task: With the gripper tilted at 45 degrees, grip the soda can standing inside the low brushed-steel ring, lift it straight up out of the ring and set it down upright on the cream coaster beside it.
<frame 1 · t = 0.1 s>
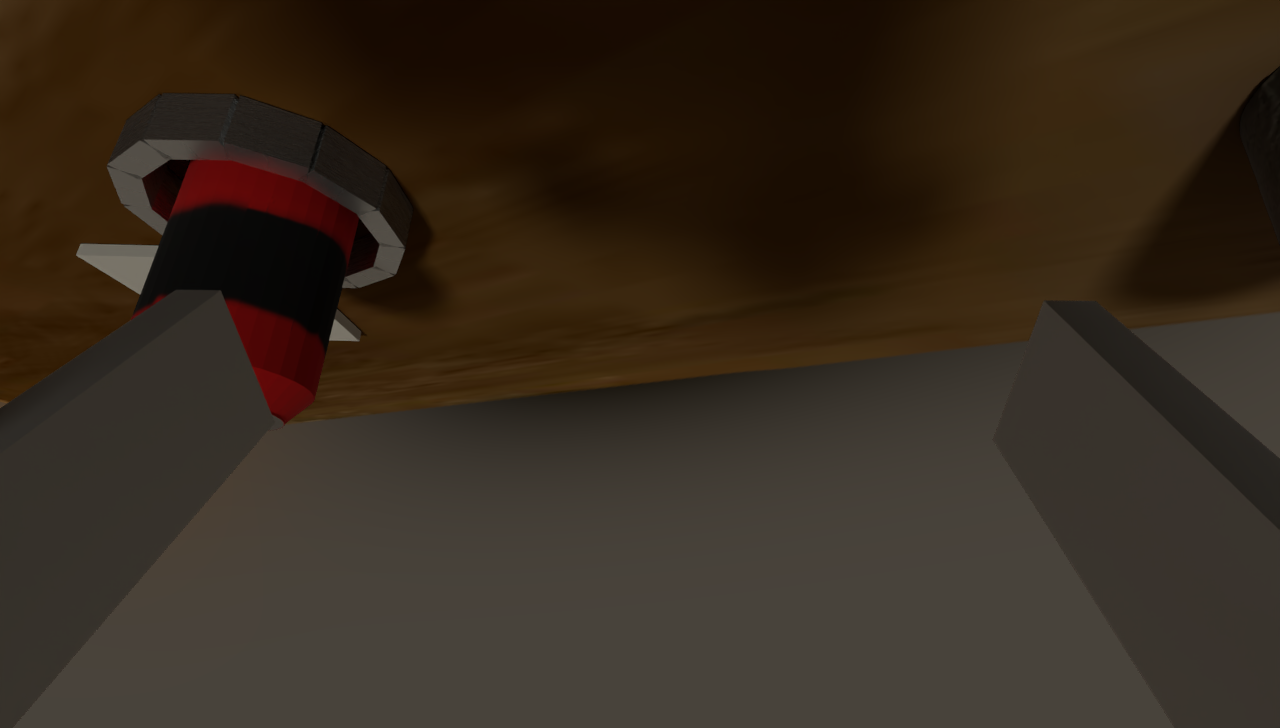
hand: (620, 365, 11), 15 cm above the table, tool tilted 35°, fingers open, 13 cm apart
steel ring holder: (281, 186, 32), on the table
soda can: (282, 183, 32), resting in steel ring holder
cream coaster: (237, 292, 44), on the table
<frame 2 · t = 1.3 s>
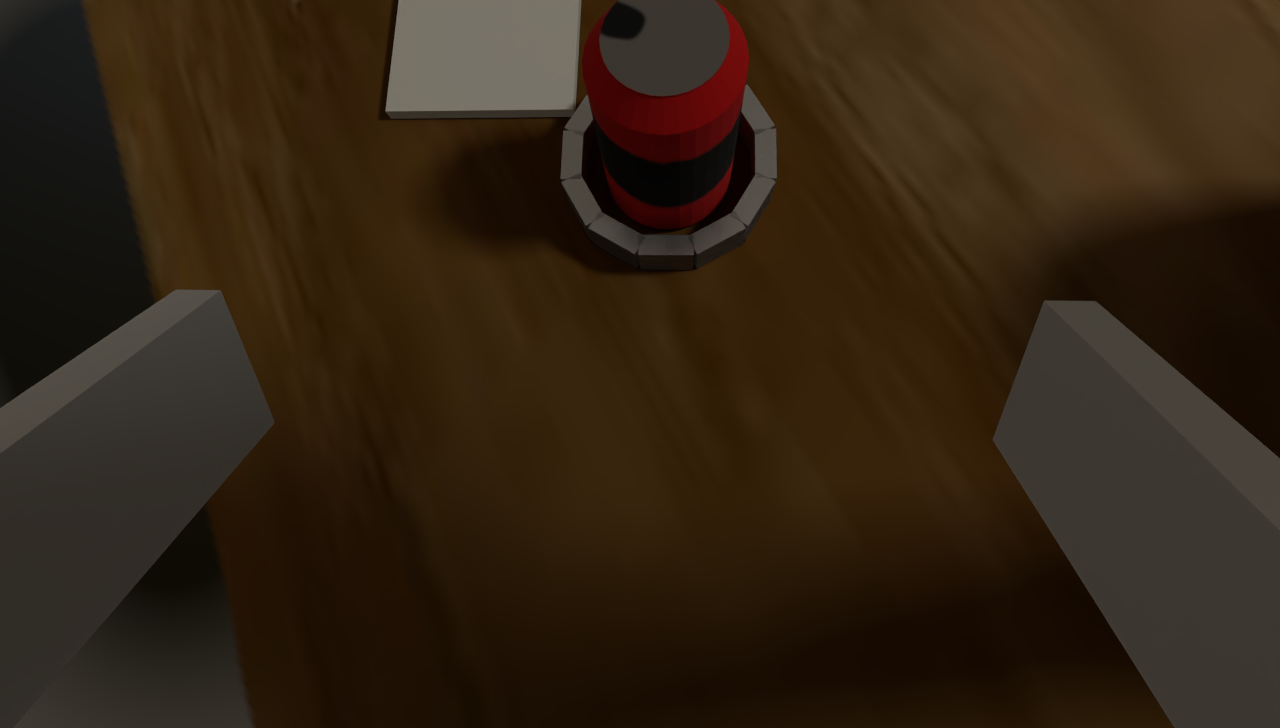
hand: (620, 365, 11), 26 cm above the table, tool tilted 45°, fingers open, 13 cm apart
steel ring holder: (668, 174, 39), on the table
soda can: (668, 176, 40), resting in steel ring holder
cream coaster: (489, 35, 42), on the table
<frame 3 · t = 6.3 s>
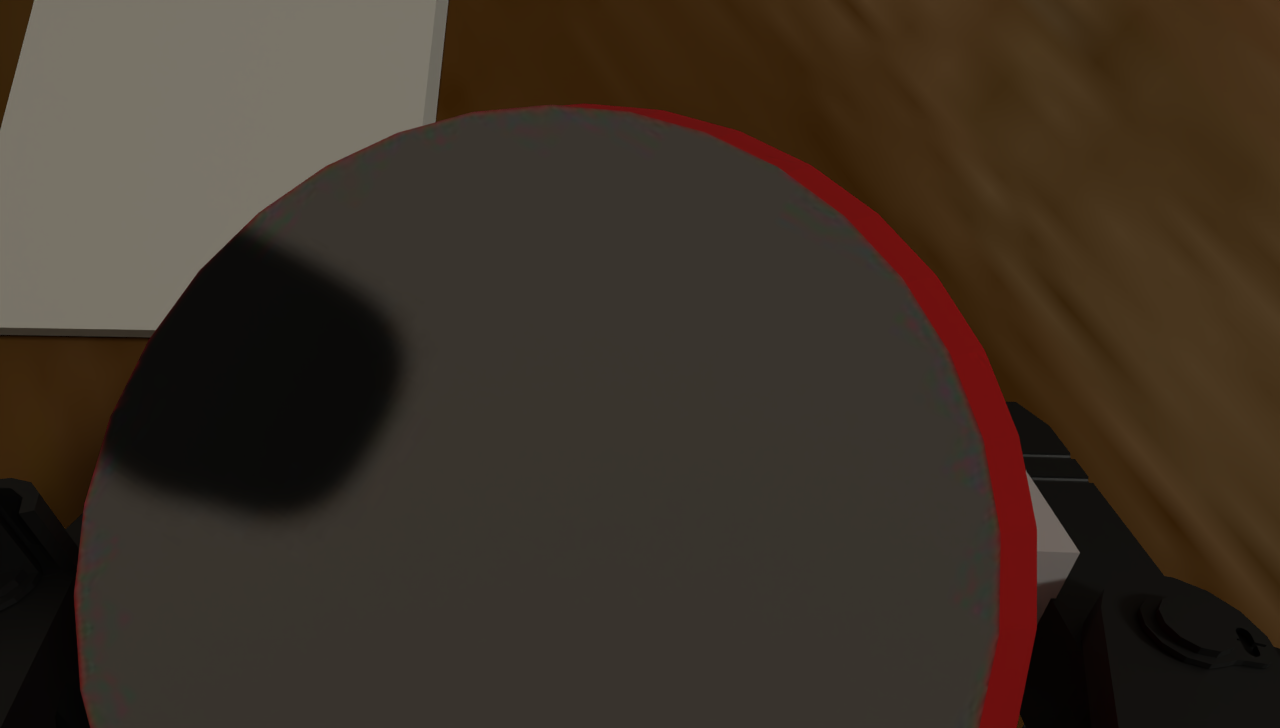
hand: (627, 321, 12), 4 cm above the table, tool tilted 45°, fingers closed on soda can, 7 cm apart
soda can: (636, 505, 16), resting in steel ring holder, touching gripper
cream coaster: (228, 135, 18), on the table
when the fingers open (7 cm above the table, at t = 12.6 s): soda can drops 1 cm, resting on cream coaster.
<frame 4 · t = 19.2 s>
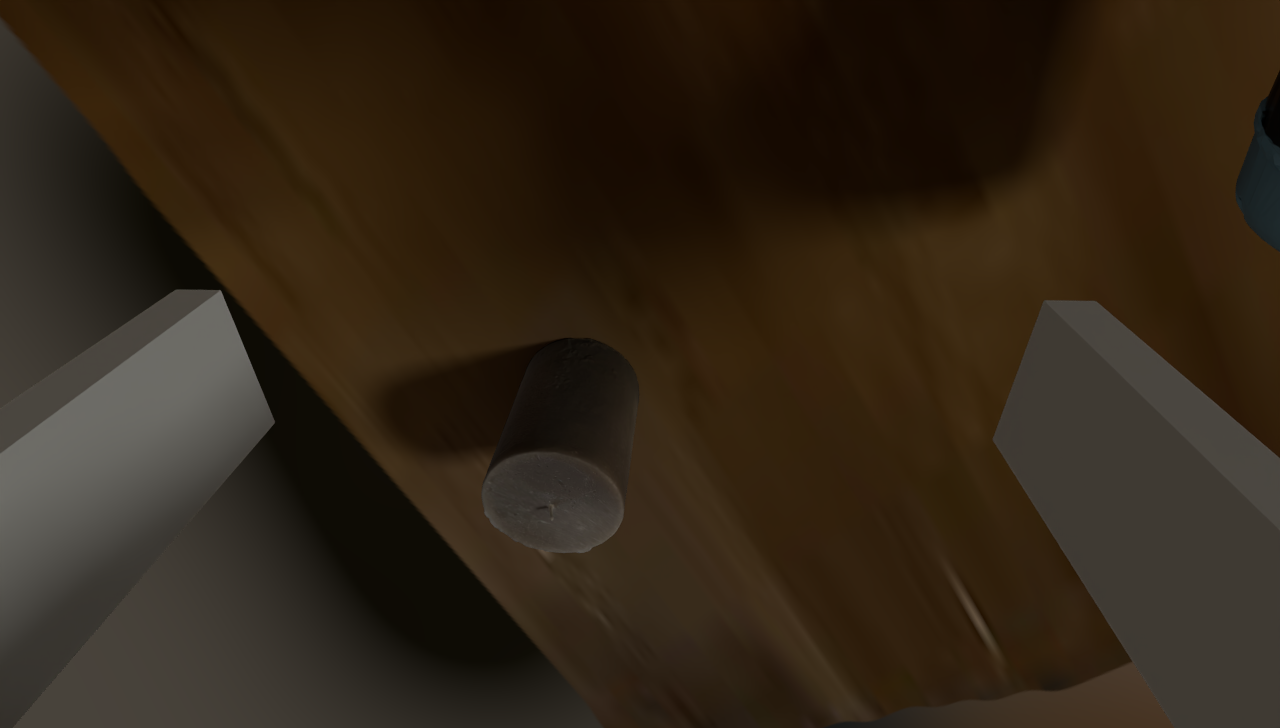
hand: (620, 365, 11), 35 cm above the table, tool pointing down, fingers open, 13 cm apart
pillar candle: (580, 386, 54), on the table
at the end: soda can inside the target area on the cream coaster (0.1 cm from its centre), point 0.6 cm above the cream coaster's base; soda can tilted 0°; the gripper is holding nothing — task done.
